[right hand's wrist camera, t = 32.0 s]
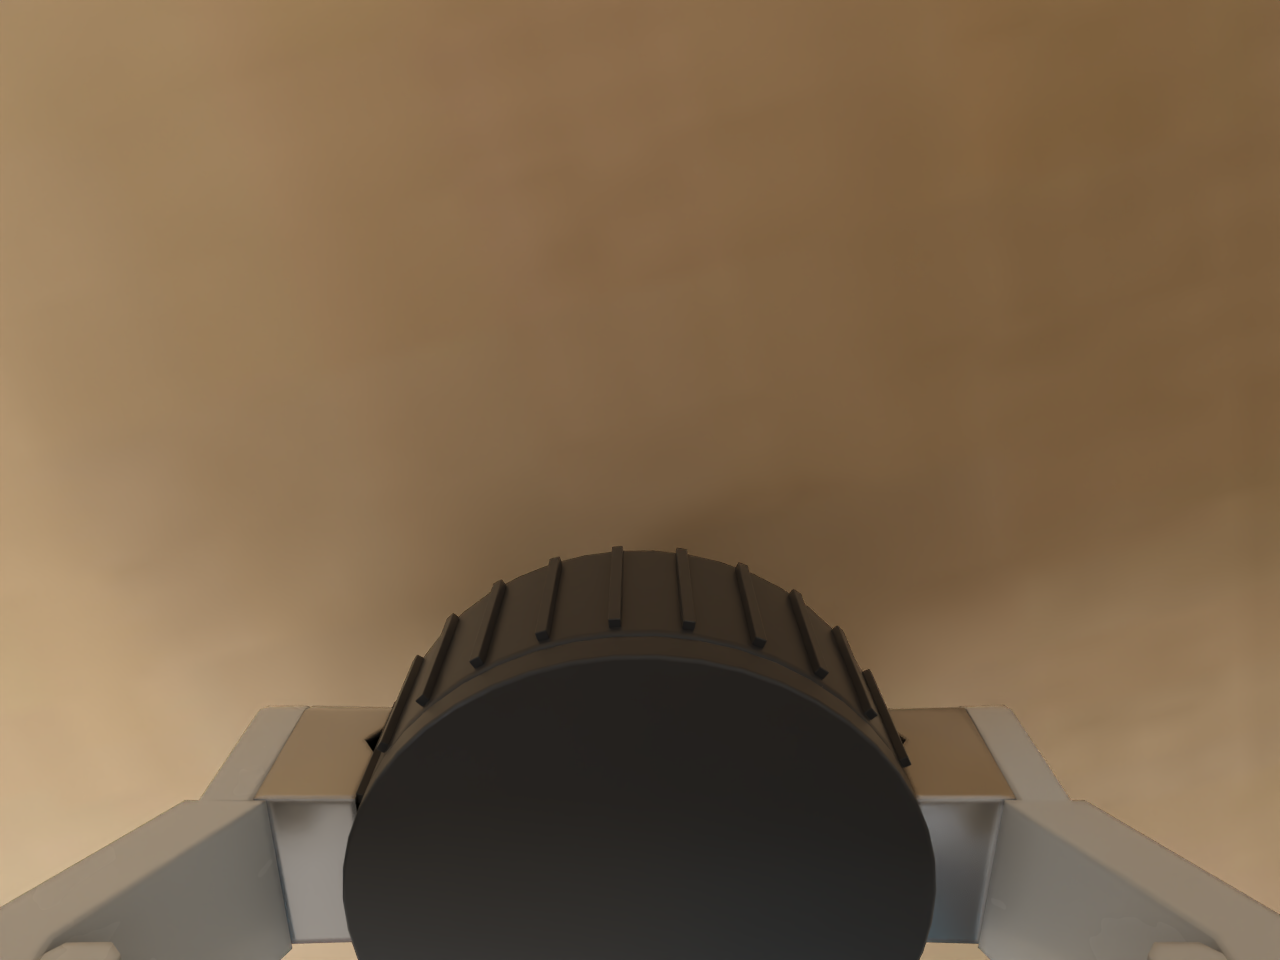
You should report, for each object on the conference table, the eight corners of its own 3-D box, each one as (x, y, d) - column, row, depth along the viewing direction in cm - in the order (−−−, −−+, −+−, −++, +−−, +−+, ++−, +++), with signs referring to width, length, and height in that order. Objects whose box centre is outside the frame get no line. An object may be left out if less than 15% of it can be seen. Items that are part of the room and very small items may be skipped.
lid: (346, 560, 9) (269, 671, 7) (892, 521, 9) (962, 624, 7) (433, 964, 11) (390, 1135, 9) (883, 936, 11) (934, 1104, 9)
